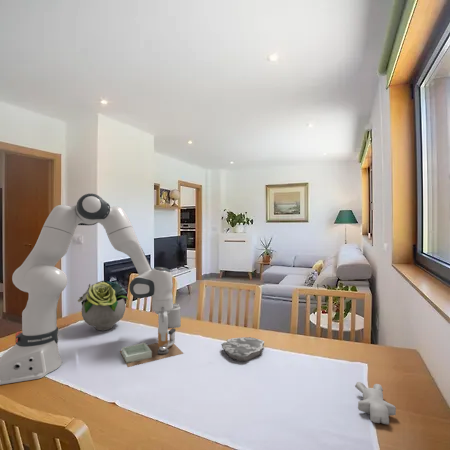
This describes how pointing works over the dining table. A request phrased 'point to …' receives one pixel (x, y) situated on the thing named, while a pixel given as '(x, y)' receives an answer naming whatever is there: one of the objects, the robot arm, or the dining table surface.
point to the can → (174, 317)
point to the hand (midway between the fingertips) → (163, 336)
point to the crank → (170, 342)
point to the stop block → (160, 343)
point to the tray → (136, 352)
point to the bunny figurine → (375, 403)
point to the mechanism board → (157, 354)
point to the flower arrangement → (103, 304)
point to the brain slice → (243, 348)
